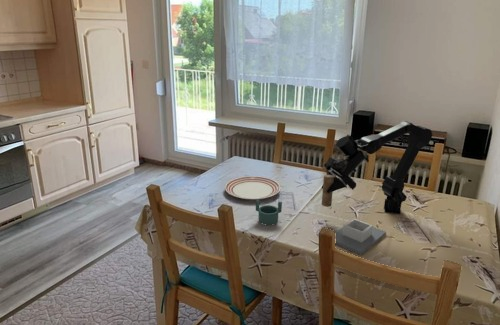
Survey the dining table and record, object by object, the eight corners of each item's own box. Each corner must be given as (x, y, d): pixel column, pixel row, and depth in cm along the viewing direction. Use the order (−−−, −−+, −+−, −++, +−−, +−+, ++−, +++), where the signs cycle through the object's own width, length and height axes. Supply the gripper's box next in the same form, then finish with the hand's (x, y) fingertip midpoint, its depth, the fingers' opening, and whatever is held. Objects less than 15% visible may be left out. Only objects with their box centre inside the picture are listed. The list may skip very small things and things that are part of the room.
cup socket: (353, 222, 150) (354, 211, 149) (385, 234, 141) (387, 222, 140) (326, 240, 137) (328, 228, 135) (361, 255, 128) (362, 242, 126)
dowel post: (331, 203, 152) (334, 175, 148) (330, 207, 148) (333, 178, 144) (322, 201, 153) (324, 174, 149) (320, 205, 149) (323, 177, 145)
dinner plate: (272, 207, 163) (272, 200, 162) (216, 199, 171) (216, 192, 170) (285, 185, 188) (286, 179, 187) (236, 179, 196) (236, 173, 195)
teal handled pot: (283, 222, 150) (283, 202, 148) (264, 227, 146) (265, 207, 143) (270, 213, 158) (271, 194, 155) (252, 218, 153) (253, 199, 150)
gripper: (329, 143, 152) (303, 170, 153) (352, 157, 135) (323, 187, 136) (344, 160, 157) (319, 186, 158) (368, 175, 140) (340, 204, 141)
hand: (324, 190), depth 148 cm, fingers closed on dowel post, 4 cm apart
